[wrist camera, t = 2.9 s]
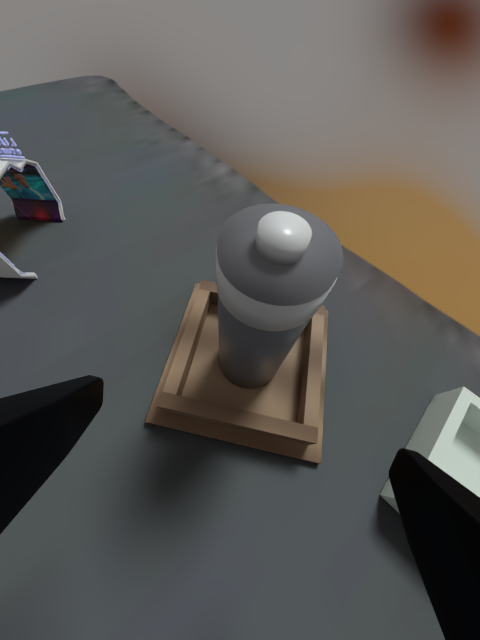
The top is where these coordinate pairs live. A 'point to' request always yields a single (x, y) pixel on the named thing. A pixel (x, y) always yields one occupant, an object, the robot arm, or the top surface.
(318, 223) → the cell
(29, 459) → the robot arm
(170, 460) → the top surface
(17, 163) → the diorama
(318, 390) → the brown wooden tray
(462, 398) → the white square tray
